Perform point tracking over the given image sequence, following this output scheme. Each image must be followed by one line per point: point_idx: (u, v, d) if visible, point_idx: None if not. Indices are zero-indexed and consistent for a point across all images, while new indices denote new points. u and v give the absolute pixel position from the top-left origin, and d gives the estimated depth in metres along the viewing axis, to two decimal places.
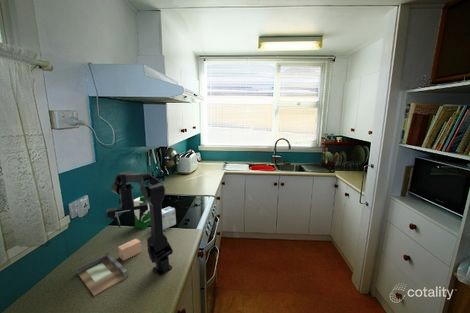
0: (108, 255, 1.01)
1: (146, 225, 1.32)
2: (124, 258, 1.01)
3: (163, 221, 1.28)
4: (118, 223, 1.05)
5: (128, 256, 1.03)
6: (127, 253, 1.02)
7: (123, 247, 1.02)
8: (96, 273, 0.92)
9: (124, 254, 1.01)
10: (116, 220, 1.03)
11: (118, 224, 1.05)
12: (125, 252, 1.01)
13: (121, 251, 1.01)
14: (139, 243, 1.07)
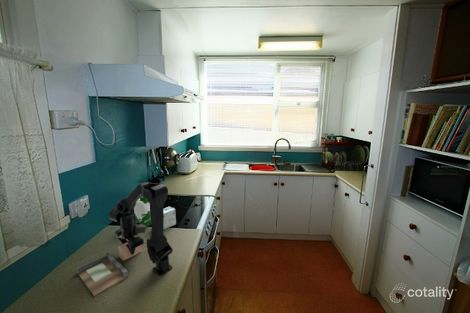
0: (108, 255, 1.01)
1: (146, 225, 1.32)
2: (124, 258, 1.01)
3: None
4: None
5: (128, 256, 1.03)
6: (127, 253, 1.02)
7: (123, 247, 1.02)
8: (96, 273, 0.92)
9: (124, 254, 1.01)
10: (121, 243, 1.05)
11: None
12: (125, 252, 1.01)
13: (121, 251, 1.01)
14: None
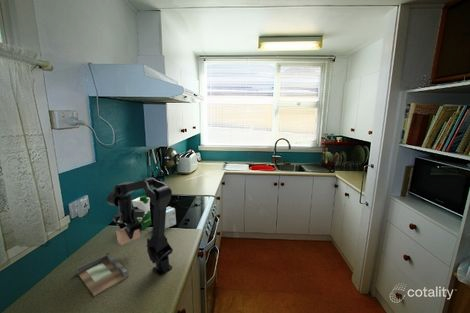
0: (108, 255, 1.01)
1: (146, 225, 1.32)
2: (122, 242, 1.00)
3: None
4: None
5: (126, 240, 1.01)
6: (125, 237, 1.01)
7: (121, 231, 1.01)
8: (96, 273, 0.92)
9: (122, 238, 1.00)
10: (120, 228, 1.04)
11: None
12: (123, 236, 1.00)
13: (119, 235, 1.00)
14: None
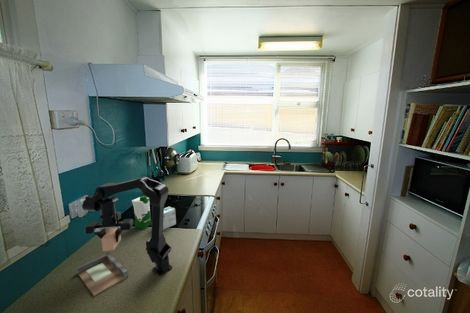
0: (108, 255, 1.01)
1: (146, 225, 1.32)
2: (114, 247, 0.94)
3: (163, 221, 1.28)
4: None
5: (115, 244, 0.96)
6: (114, 241, 0.95)
7: (108, 236, 0.93)
8: (96, 273, 0.92)
9: (113, 242, 0.94)
10: (100, 236, 0.94)
11: None
12: (113, 240, 0.94)
13: (109, 241, 0.92)
14: None
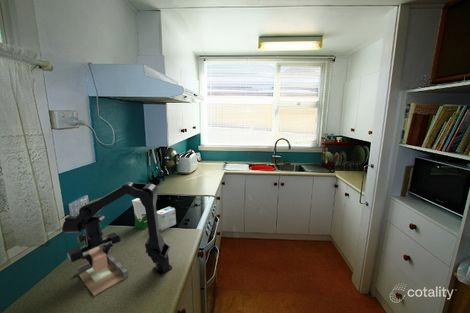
0: (108, 255, 1.01)
1: (146, 225, 1.32)
2: None
3: (163, 221, 1.28)
4: (91, 262, 0.89)
5: None
6: None
7: (100, 255, 0.90)
8: (96, 273, 0.92)
9: None
10: (89, 259, 0.88)
11: (91, 263, 0.89)
12: None
13: (102, 259, 0.90)
14: None
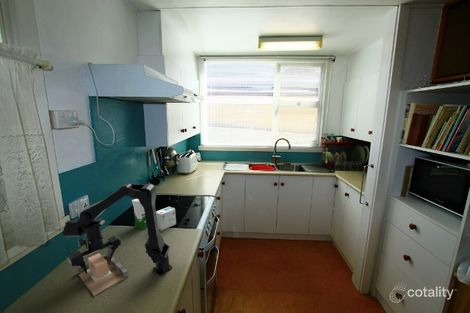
0: None
1: (146, 225, 1.32)
2: None
3: (163, 221, 1.28)
4: (85, 269, 0.88)
5: None
6: None
7: (101, 262, 0.90)
8: None
9: None
10: (83, 266, 0.86)
11: (85, 270, 0.88)
12: None
13: (103, 265, 0.90)
14: None
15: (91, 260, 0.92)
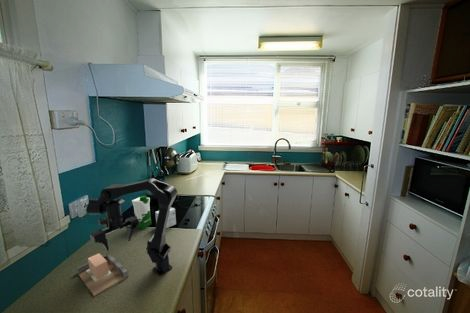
0: (108, 255, 1.01)
1: (146, 225, 1.32)
2: None
3: None
4: (107, 246, 0.90)
5: None
6: None
7: (101, 262, 0.90)
8: None
9: None
10: (106, 243, 0.88)
11: (107, 248, 0.90)
12: None
13: (103, 265, 0.90)
14: None
15: (91, 260, 0.92)
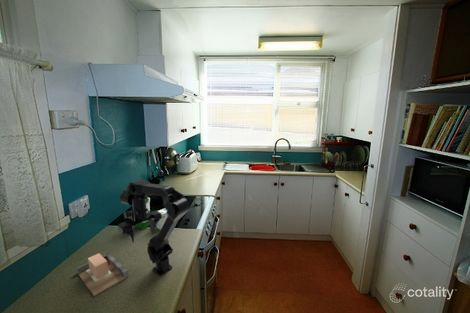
0: (108, 255, 1.01)
1: (146, 225, 1.32)
2: None
3: (163, 221, 1.28)
4: (133, 238, 0.94)
5: None
6: None
7: (101, 262, 0.90)
8: None
9: None
10: (132, 235, 0.93)
11: (132, 239, 0.94)
12: None
13: (103, 265, 0.90)
14: None
15: (91, 260, 0.92)
